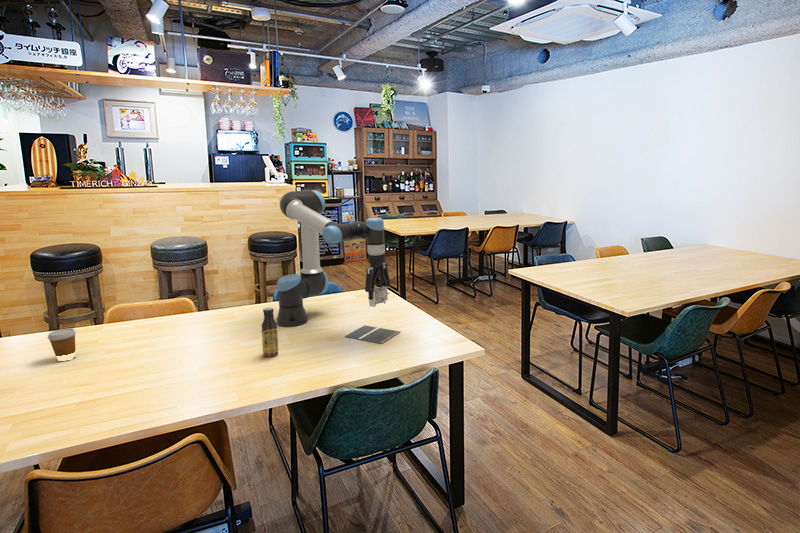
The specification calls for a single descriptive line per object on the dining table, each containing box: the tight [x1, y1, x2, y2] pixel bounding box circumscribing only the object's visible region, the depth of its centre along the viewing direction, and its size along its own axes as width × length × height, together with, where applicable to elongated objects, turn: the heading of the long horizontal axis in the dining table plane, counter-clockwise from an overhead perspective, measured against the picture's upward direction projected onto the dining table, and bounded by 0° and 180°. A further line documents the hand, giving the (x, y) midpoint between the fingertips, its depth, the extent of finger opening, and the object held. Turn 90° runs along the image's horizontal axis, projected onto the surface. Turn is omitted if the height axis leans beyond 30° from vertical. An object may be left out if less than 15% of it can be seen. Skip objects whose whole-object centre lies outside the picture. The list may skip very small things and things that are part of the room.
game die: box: [367, 284, 390, 306], centre depth 202 cm, size 9×8×10 cm
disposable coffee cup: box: [47, 328, 77, 357], centre depth 190 cm, size 10×10×12 cm
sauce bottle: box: [261, 307, 279, 358], centre depth 186 cm, size 7×6×20 cm
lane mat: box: [344, 325, 402, 345], centre depth 208 cm, size 20×16×1 cm
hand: (378, 303), depth 202 cm, fingers closed on game die, 9 cm apart
